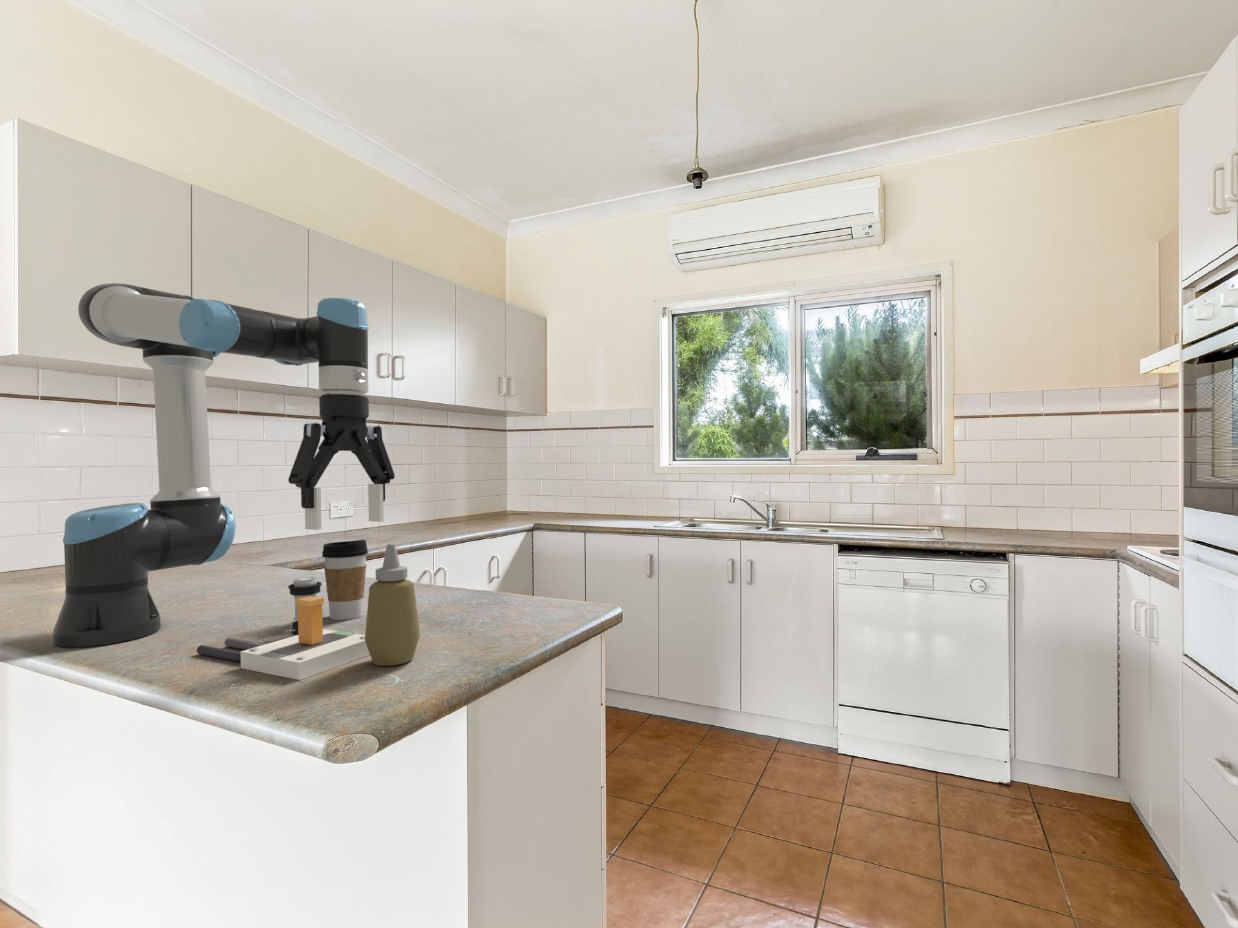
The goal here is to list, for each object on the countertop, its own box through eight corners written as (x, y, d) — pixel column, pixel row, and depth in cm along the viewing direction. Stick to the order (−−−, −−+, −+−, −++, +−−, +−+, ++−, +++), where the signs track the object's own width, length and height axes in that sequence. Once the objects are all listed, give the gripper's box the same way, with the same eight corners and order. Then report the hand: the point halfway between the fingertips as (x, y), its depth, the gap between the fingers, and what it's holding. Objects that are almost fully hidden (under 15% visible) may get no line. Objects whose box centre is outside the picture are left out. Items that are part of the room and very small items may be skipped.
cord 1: (196, 654, 103) (196, 646, 103) (205, 652, 104) (205, 643, 104) (247, 665, 97) (247, 656, 97) (256, 662, 98) (256, 653, 98)
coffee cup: (358, 621, 122) (357, 543, 122) (314, 622, 123) (313, 544, 122) (375, 611, 131) (374, 538, 131) (335, 611, 131) (333, 538, 131)
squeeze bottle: (388, 673, 93) (386, 549, 92) (353, 664, 97) (351, 546, 97) (431, 657, 100) (429, 543, 99) (397, 650, 104) (395, 540, 104)
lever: (296, 642, 99) (295, 599, 99) (309, 638, 101) (309, 596, 101) (311, 645, 97) (310, 601, 97) (324, 641, 100) (324, 597, 100)
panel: (240, 668, 96) (240, 650, 96) (320, 642, 108) (320, 627, 108) (299, 680, 90) (299, 661, 90) (376, 652, 103) (376, 635, 103)
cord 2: (224, 647, 107) (224, 638, 107) (232, 644, 108) (232, 636, 108) (274, 656, 101) (274, 647, 101) (282, 654, 102) (282, 645, 102)
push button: (293, 642, 109) (292, 584, 109) (275, 638, 112) (274, 581, 112) (328, 632, 115) (327, 577, 115) (310, 629, 118) (309, 575, 117)
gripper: (294, 386, 93) (297, 534, 93) (414, 399, 115) (416, 518, 115) (260, 389, 96) (263, 532, 96) (383, 401, 118) (385, 517, 118)
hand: (346, 525), depth 105 cm, fingers open, 12 cm apart
